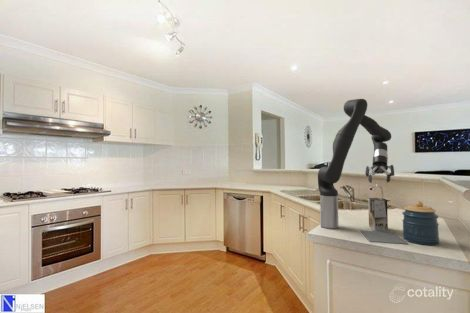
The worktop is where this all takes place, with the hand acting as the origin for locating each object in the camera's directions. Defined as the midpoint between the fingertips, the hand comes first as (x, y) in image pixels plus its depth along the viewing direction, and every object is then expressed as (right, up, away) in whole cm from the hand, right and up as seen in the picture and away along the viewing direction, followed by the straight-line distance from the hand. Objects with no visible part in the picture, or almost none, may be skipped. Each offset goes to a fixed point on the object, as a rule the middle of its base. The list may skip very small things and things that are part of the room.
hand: (379, 182), depth 136 cm
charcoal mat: (-12, -24, -23) cm, 35 cm away
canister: (+2, -24, -28) cm, 37 cm away
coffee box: (-6, -24, -10) cm, 27 cm away
